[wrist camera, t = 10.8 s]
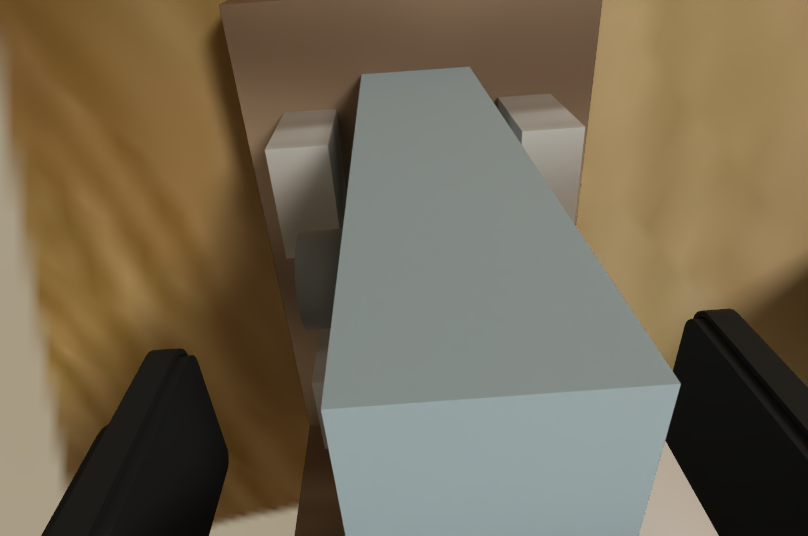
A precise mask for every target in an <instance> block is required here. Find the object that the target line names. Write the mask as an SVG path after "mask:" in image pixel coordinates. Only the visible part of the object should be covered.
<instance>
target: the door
mask: <svg viewBox="0 0 808 536" xmlns="http://www.w3.org/2000/svg"><path fill="white" fill-rule="evenodd" d="M295 285H296V295H297V302H298V308H299V313H300V317H301V320H302V323H303V325H304V327H305V329H307V330H310V329H324V328H331V331H330V339H329V347H328V355H327V364H326V372H325V380H324V388H323V397H322V405H321V413H322V418H323V423H324V428H325V433H326V438H327V443H328V449H329V454H330V459H331V464H332V469H333V474H334V479H335V484H336V490H337V495H338V500H339V505H340V510H341V515H342V520H343V525H344V531H345V536H639V533H640V529H641V525H642V522H643V518H644V515H645V511H646V508H647V504H648V500H649V497H650V493H651V490H652V486H653V482H654V479H655V475H656V471H657V468H658V464H659V461H660V457H661V454H662V450H663V446H664V443H665V439H666V436H667V432H668V428H669V425H670V421H671V418H672V414H673V410H674V407H675V403H676V400H677V396H678V392H679V389H680V385H681V383H680V382H679V380H678V379H677V377H676V376H675V374H674V373H673V371H672V370H671V368H670V367H669V365H668V364H667V362H666V361H665V359H664V358H663V356H662V355H661V353H660V352H659V350H658V349H657V347H656V346H655V344H654V343H653V341H652V340H651V338H650V337H649V335H648V334H647V332H646V331H645V329H644V328H643V326H642V325H641V323H640V322H639V320H638V319H637V317H636V316H635V314H634V313H633V311H632V310H631V308H630V307H629V305H628V304H627V302H626V301H625V299H624V298H623V296H622V295H621V293H620V292H619V290H618V289H617V287H616V286H615V284H614V283H613V281H612V280H611V278H610V277H609V275H608V274H607V272H606V271H605V269H604V268H603V266H602V265H601V263H600V262H599V260H598V259H597V257H596V256H595V254H594V253H593V251H592V250H591V248H590V247H589V245H588V244H587V242H586V241H585V239H584V238H583V236H582V235H581V233H580V232H579V230H578V229H577V227H576V226H575V224H574V223H573V221H572V220H571V218H570V217H569V215H568V214H567V212H566V211H565V209H564V208H563V206H562V205H561V203H560V202H559V200H558V199H557V197H556V196H555V194H554V193H553V191H552V190H551V188H550V187H549V185H548V184H547V182H546V181H545V179H544V178H543V176H542V175H541V173H540V172H539V170H538V169H537V167H536V166H535V164H534V163H533V161H532V160H531V158H530V157H529V155H528V154H527V152H526V151H525V149H524V148H523V146H522V145H521V143H520V142H519V140H518V139H517V137H516V136H515V134H514V133H513V131H512V130H511V128H510V127H509V125H508V124H507V122H506V121H505V119H504V118H503V116H502V115H501V113H500V112H499V110H498V109H497V107H496V106H495V104H494V103H493V101H492V100H491V98H490V97H489V95H488V94H487V92H486V91H485V89H484V88H483V86H482V85H481V83H480V82H479V80H478V79H477V77H476V76H475V74H474V73H473V71H472V70H471V68H470V67H458V68H444V69H430V70H416V71H401V72H387V73H373V74H362V75H361V83H360V91H359V100H358V108H357V116H356V124H355V133H354V141H353V149H352V157H351V166H350V174H349V182H348V190H347V199H346V207H345V215H344V223H343V229H330V230H316V231H302V232H299V233H298V236H297V239H296V245H295Z"/></svg>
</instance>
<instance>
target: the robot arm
mask: <svg viewBox="0 0 808 536" xmlns="http://www.w3.org/2000/svg"><path fill="white" fill-rule="evenodd" d="M673 373H674V374H675V376H676V377H677V379H678V380H679V382H680V383H681V385H680V389H679V392H678V396H677V400H676V403H675V407H674V410H673V414H672V418H671V421H670V425H669V428H668V432H667V436H666V439H665V441H666V442H667V444H668V446H669V448H670V449H671V451H672V453H673V455H674V456H675V458H676V460H677V462H678V464H679V465H680V467H681V469H682V471H683V472H684V474H685V476H686V478H687V480H688V481H689V483H690V485H691V487H692V489H693V490H694V492H695V494H696V496H697V497H698V499H699V501H700V503H701V504H702V506H703V508H704V510H705V512H706V514H707V515H708V517H709V519H710V521H711V522H712V524H713V526H714V528H715V530H716V531H717V533H718V535H719V536H808V388H807V386H806V385H805V384H804V383H803V382H802V381H801V380H800V379H799V378H798V377H797V376H796V375H795V374H794V373H793V372H792V370H791V369H790V368H789V367H788V366H787V365H786V364H785V363H784V362H783V361H782V360H781V359H780V358H779V357H778V356H777V354H776V353H775V352H774V351H773V350H772V349H771V348H770V347H769V346H768V345H767V344H766V343H765V342H764V341H763V340H762V339H761V337H760V336H759V335H758V334H757V333H756V332H755V331H754V330H753V329H752V328H751V327H750V326H749V325H748V324H747V323H746V321H745V320H744V319H743V318H742V317H741V316H740V315H739V314H738V313H737V312H736V311H734V310H732V309H720V310H706V311H699V312H697V313H696V314H695V316H694V318H693V319H690V320H688V321H687V322H686V324H685V327H684V331H683V335H682V339H681V342H680V346H679V350H678V354H677V358H676V361H675V365H674V369H673ZM227 469H228V450H227V447H226V444H225V441H224V438H223V435H222V432H221V429H220V426H219V423H218V420H217V417H216V414H215V411H214V408H213V405H212V402H211V400H210V397H209V394H208V391H207V388H206V385H205V382H204V379H203V376H202V373H201V370H200V367H199V364H198V361H197V359H196V357H195V356H193V355H189V356H188V355H187V353H186V351H185V350H184V349H181V348H179V349H165V350H152V351H150V352H149V353H148V354H147V356H146V357H145V359H144V361H143V363H142V365H141V366H140V368H139V370H138V372H137V374H136V375H135V377H134V379H133V381H132V383H131V385H130V386H129V388H128V390H127V392H126V394H125V396H124V397H123V399H122V401H121V403H120V405H119V407H118V408H117V410H116V412H115V414H114V416H113V417H112V419H111V421H110V423H109V424H108V425H107V426H105V427H104V428H102V430H101V431H100V432H99V434H98V435H97V437H96V438H95V440H94V442H93V444H92V446H91V447H90V449H89V451H88V453H87V455H86V456H85V458H84V460H83V462H82V464H81V465H80V467H79V469H78V471H77V473H76V474H75V476H74V478H73V480H72V481H71V483H70V485H69V487H68V489H67V490H66V492H65V494H64V496H63V498H62V499H61V501H60V503H59V505H58V507H57V509H56V510H55V512H54V514H53V516H52V517H51V519H50V521H49V523H48V524H47V526H46V528H45V530H44V532H43V533H42V536H209V533H210V530H211V526H212V523H213V519H214V515H215V512H216V508H217V505H218V501H219V498H220V494H221V491H222V487H223V483H224V480H225V476H226V473H227Z"/></svg>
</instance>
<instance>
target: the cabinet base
mask: <svg viewBox="0 0 808 536" xmlns="http://www.w3.org/2000/svg"><path fill="white" fill-rule="evenodd" d="M601 7H602V0H228V1H226V2H224V3H222V4H219V9H220V13H221V18H222V23H223V27H224V32H225V36H226V41H227V46H228V50H229V55H230V60H231V64H232V69H233V73H234V78H235V83H236V87H237V92H238V97H239V101H240V106H241V111H242V115H243V120H244V124H245V129H246V134H247V138H248V143H249V148H250V152H251V157H252V161H253V166H254V171H255V175H256V180H257V185H258V189H259V194H260V199H261V203H262V208H263V212H264V217H265V222H266V226H267V231H268V236H269V240H270V245H271V249H272V254H273V259H274V263H275V268H276V273H277V277H278V282H279V287H280V291H281V296H282V300H283V305H284V310H285V314H286V319H287V324H288V328H289V333H290V337H291V342H292V347H293V351H294V356H295V361H296V365H297V370H298V375H299V379H300V384H301V388H302V393H303V398H304V402H305V407H306V412H307V416H308V421H309V425H310V429H309V436H308V444H307V451H306V458H305V465H304V472H303V479H302V487H301V494H300V501H299V508H298V515H297V523H296V530H295V536H345V531H344V525H343V520H342V515H341V510H340V505H339V500H338V495H337V490H336V484H335V479H334V474H333V469H332V464H331V459H330V454H329V449H328V443H327V438H326V433H325V428H324V423H323V418H322V413H321V405H322V397H323V388H324V380H325V372H326V364H327V355H328V347H329V339H330V331H331V328H324V329H310V330H307V329H305V327H304V325H303V323H302V320H301V317H300V313H299V308H298V302H297V295H296V285H295V245H296V239H297V236H298V233H299V232H302V231H316V230H330V229H343V223H344V215H345V207H346V199H347V190H348V182H349V174H350V166H351V157H352V149H353V141H354V133H355V124H356V116H357V108H358V100H359V91H360V83H361V75H362V74H373V73H387V72H401V71H416V70H430V69H444V68H458V67H470V68H471V70H472V71H473V73H474V74H475V76H476V77H477V79H478V80H479V82H480V83H481V85H482V86H483V88H484V89H485V91H486V92H487V94H488V95H489V97H490V98H491V100H492V101H493V103H494V104H495V106H496V107H497V109H498V110H499V112H500V113H501V115H502V116H503V118H504V119H505V121H506V122H507V124H508V125H509V127H510V128H511V130H512V131H513V133H514V134H515V136H516V137H517V139H518V140H519V142H520V143H521V145H522V146H523V148H524V149H525V151H526V152H527V154H528V155H529V157H530V158H531V160H532V161H533V163H534V164H535V166H536V167H537V169H538V170H539V172H540V173H541V175H542V176H543V178H544V179H545V181H546V182H547V184H548V185H549V187H550V188H551V190H552V191H553V193H554V194H555V196H556V197H557V199H558V200H559V202H560V203H561V205H562V206H563V208H564V209H565V211H566V212H567V214H568V215H569V217H570V218H571V220H572V221H573V223H574V224H575V226H576V221H577V213H578V204H579V195H580V187H581V178H582V170H583V161H584V153H585V144H586V136H587V127H588V119H589V110H590V101H591V93H592V84H593V76H594V67H595V59H596V50H597V42H598V33H599V25H600V16H601Z"/></svg>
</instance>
